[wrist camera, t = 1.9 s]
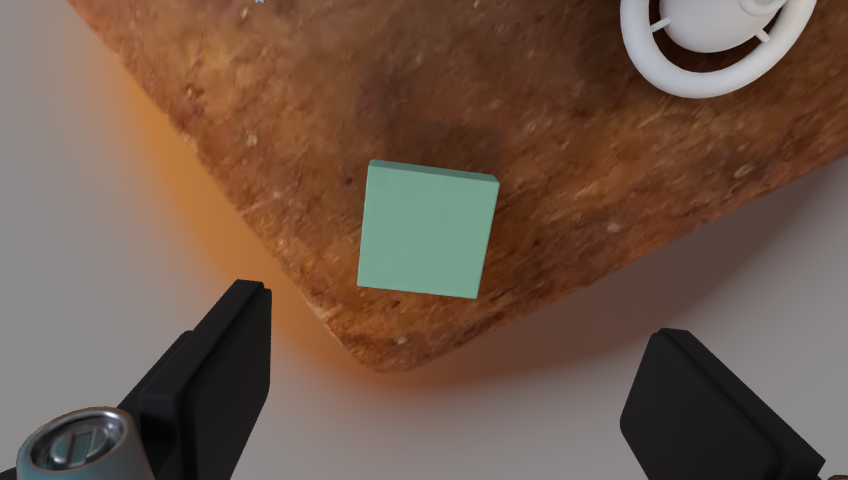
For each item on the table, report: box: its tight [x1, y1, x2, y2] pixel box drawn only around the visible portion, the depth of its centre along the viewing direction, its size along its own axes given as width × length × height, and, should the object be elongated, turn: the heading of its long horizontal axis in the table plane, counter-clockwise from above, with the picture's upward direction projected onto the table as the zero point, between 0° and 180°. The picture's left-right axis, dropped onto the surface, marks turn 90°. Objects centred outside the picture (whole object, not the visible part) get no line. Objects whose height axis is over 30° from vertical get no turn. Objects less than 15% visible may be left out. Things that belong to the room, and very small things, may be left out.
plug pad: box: [357, 159, 500, 299], centre depth 21 cm, size 5×5×4 cm
